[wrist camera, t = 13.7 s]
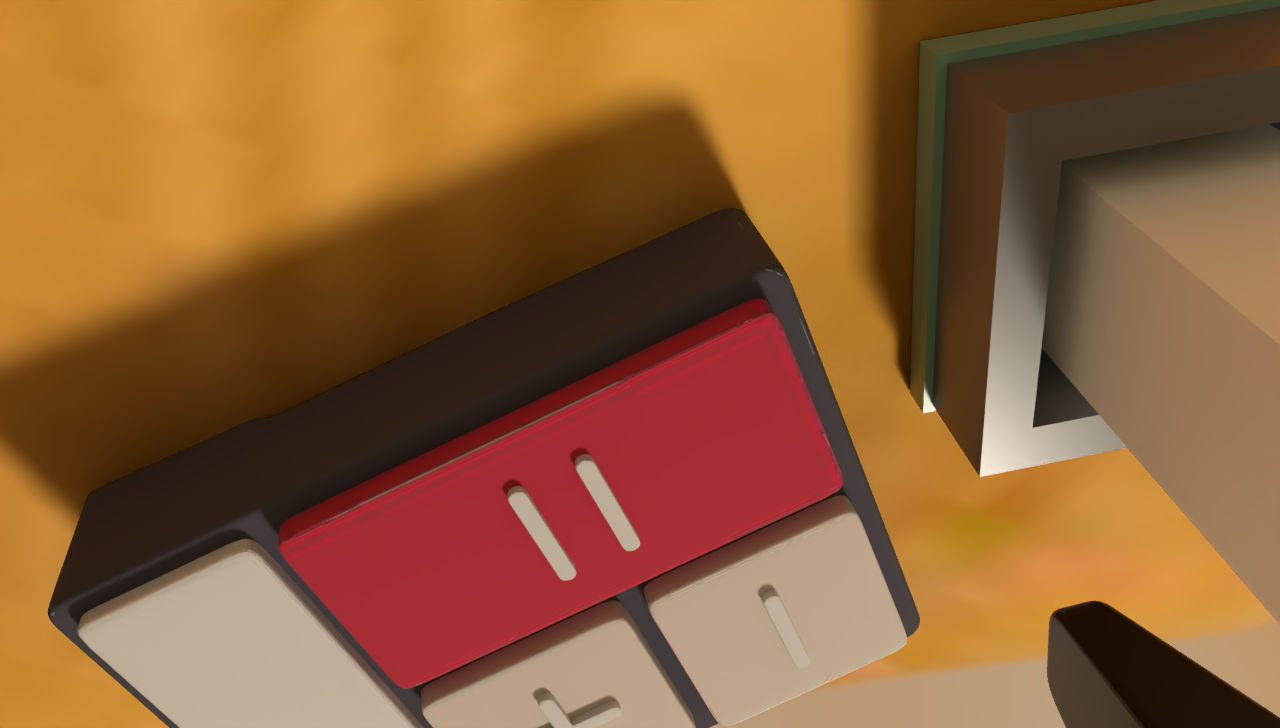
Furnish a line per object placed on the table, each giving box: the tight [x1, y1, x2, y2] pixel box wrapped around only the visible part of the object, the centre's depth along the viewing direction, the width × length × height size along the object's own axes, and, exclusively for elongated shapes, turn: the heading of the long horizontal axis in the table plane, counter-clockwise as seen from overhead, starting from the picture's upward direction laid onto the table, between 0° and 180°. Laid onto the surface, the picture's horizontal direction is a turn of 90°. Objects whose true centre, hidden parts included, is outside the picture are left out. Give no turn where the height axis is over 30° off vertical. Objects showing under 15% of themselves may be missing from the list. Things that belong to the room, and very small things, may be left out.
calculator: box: [48, 208, 920, 728], centre depth 24 cm, size 11×4×15 cm
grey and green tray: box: [910, 0, 1280, 477], centre depth 21 cm, size 8×8×3 cm
